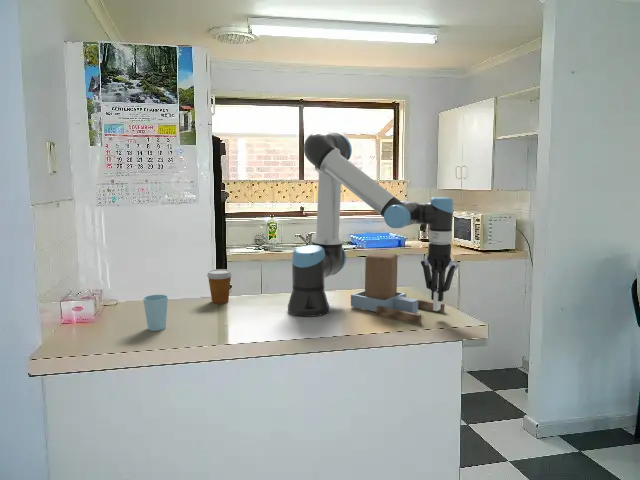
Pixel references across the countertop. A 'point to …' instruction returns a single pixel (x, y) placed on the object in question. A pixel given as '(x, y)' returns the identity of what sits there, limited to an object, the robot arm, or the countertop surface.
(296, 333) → the countertop surface
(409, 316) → the rails
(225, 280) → the disposable coffee cup
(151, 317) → the cup
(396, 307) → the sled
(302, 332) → the countertop surface
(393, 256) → the wooden block
